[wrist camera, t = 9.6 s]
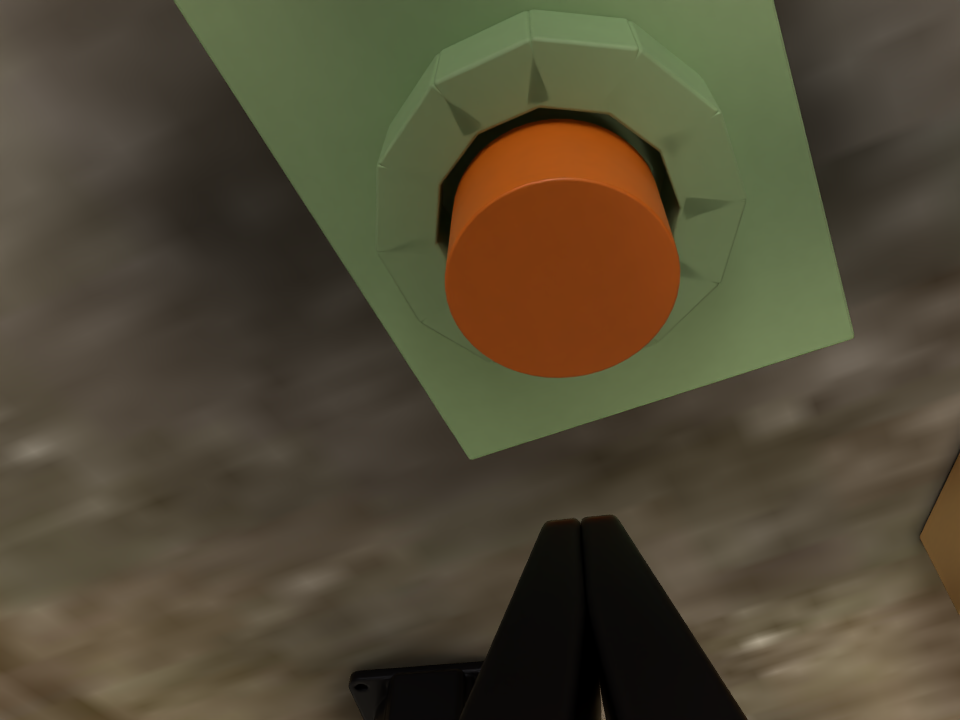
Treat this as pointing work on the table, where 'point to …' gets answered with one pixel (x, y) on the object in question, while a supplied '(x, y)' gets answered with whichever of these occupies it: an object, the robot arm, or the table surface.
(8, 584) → the table surface
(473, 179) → the orange short cylinder
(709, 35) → the green flat block
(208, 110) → the table surface
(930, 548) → the board
